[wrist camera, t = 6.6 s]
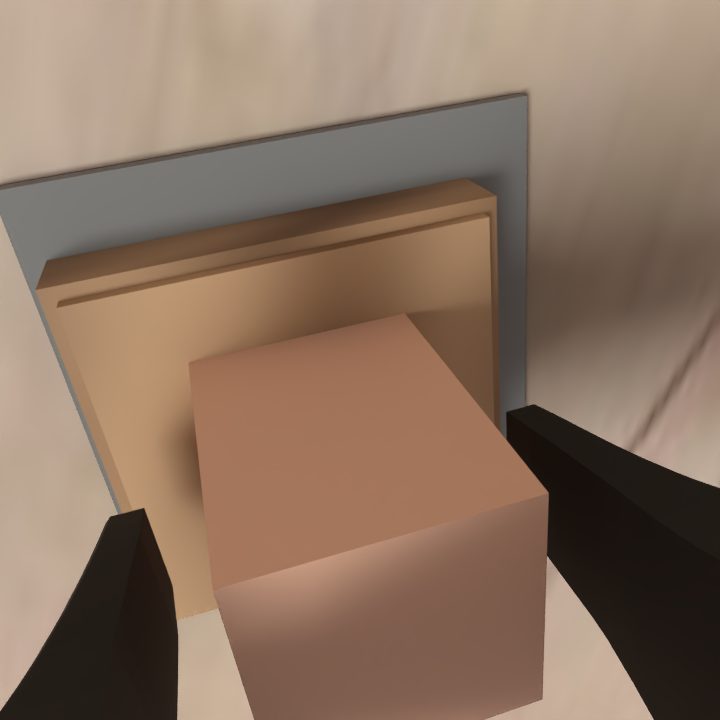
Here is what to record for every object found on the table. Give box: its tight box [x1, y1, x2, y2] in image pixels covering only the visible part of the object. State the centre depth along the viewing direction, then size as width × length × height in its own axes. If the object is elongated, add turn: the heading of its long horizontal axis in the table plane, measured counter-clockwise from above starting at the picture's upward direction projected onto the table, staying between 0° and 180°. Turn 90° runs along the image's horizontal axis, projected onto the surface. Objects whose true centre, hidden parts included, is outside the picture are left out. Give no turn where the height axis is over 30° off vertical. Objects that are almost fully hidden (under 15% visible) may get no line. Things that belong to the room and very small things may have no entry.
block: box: [188, 313, 549, 720], centre depth 12 cm, size 4×4×6 cm
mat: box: [0, 93, 527, 515], centre depth 17 cm, size 11×12×1 cm
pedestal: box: [35, 178, 501, 620], centre depth 16 cm, size 9×9×2 cm
